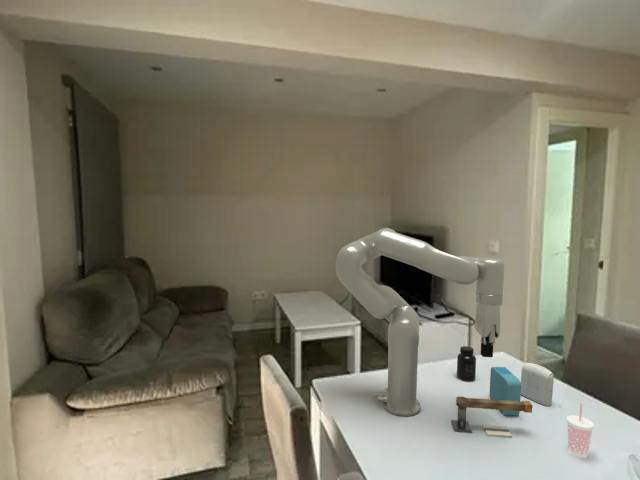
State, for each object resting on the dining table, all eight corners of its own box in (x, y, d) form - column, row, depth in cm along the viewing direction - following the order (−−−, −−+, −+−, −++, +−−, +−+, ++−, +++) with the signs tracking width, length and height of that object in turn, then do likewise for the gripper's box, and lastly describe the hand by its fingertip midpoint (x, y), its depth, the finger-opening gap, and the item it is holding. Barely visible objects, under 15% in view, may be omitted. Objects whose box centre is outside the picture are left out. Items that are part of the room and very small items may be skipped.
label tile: (487, 436, 113) (487, 433, 113) (482, 426, 118) (482, 424, 118) (512, 437, 112) (512, 435, 112) (506, 428, 117) (506, 425, 117)
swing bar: (457, 408, 115) (457, 401, 115) (454, 402, 118) (455, 395, 118) (532, 414, 112) (533, 406, 112) (527, 407, 116) (528, 399, 116)
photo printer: (554, 404, 131) (556, 369, 130) (547, 407, 129) (549, 372, 128) (524, 391, 140) (526, 358, 139) (517, 394, 138) (519, 361, 136)
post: (454, 431, 115) (455, 409, 114) (451, 422, 120) (451, 401, 119) (472, 432, 114) (473, 411, 114) (467, 423, 119) (468, 402, 119)
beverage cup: (566, 442, 110) (569, 395, 109) (592, 451, 106) (596, 403, 105) (562, 453, 105) (566, 404, 104) (590, 462, 102) (594, 412, 100)
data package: (519, 417, 123) (521, 381, 122) (505, 417, 123) (507, 381, 122) (501, 398, 135) (503, 365, 134) (488, 398, 135) (490, 365, 134)
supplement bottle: (476, 376, 152) (478, 347, 150) (473, 383, 146) (474, 352, 145) (458, 372, 155) (460, 343, 154) (454, 379, 149) (456, 349, 148)
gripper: (469, 292, 126) (467, 346, 128) (483, 304, 111) (481, 365, 113) (493, 293, 125) (491, 347, 127) (510, 305, 111) (507, 366, 112)
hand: (486, 355), depth 120 cm, fingers closed
